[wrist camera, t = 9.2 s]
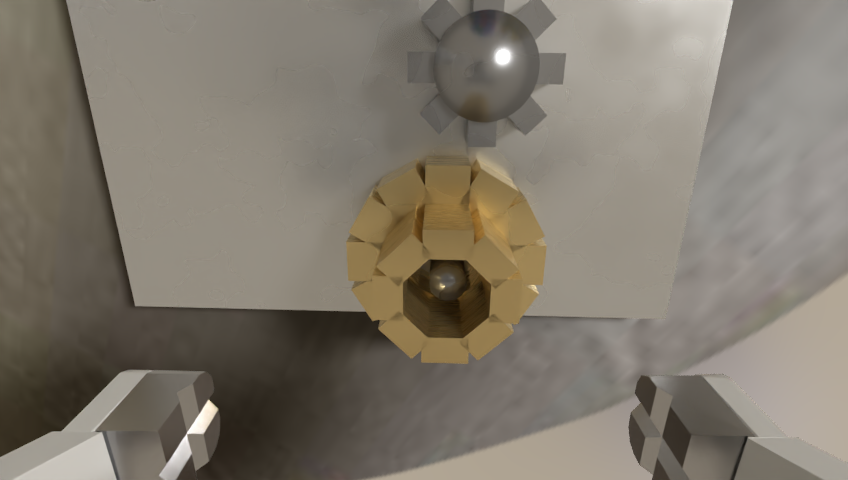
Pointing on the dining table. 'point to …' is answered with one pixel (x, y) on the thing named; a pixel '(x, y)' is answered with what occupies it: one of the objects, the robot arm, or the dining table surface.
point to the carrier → (395, 136)
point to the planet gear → (446, 257)
